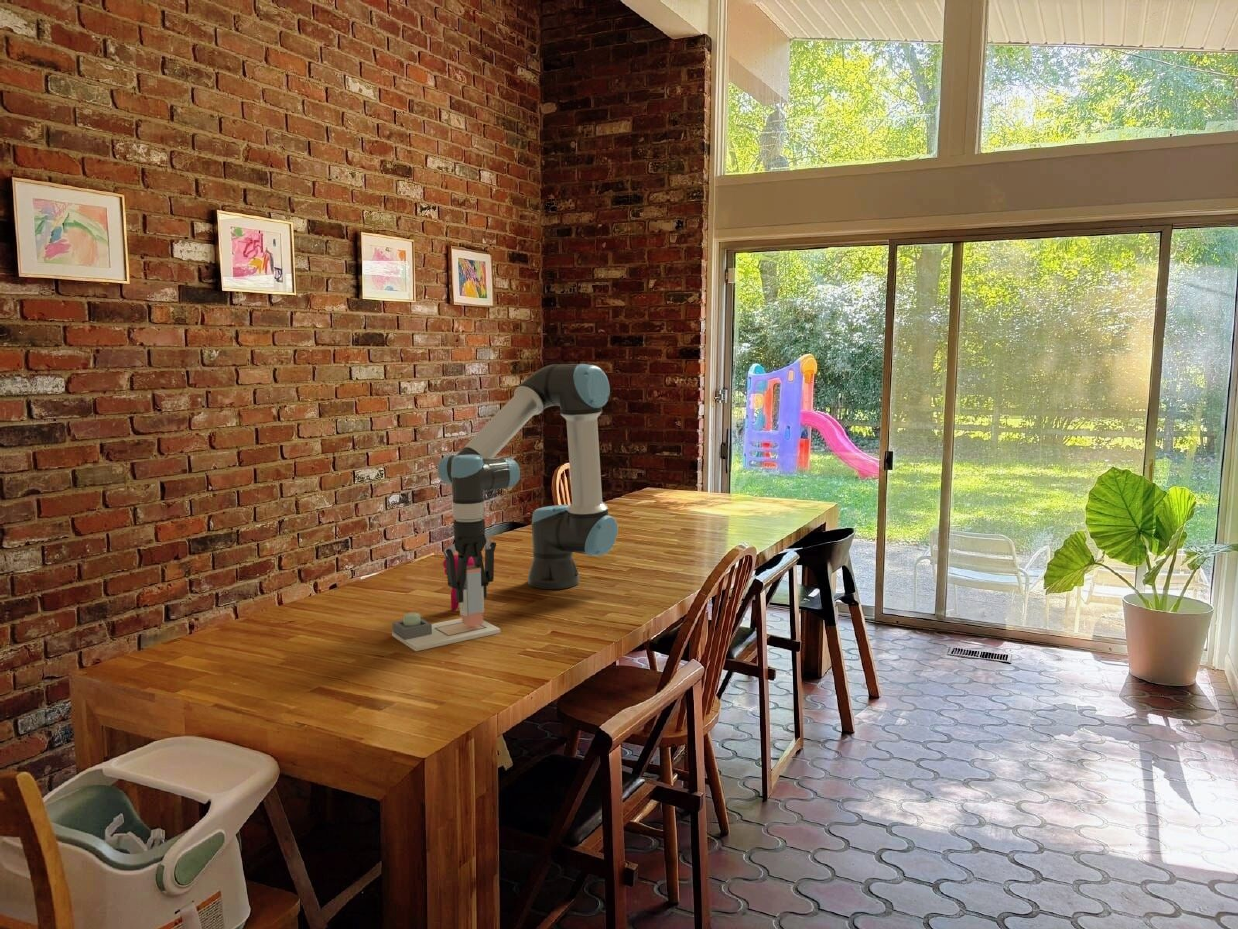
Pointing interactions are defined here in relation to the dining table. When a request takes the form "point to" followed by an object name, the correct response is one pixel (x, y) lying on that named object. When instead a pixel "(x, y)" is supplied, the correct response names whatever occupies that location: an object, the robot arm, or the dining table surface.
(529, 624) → the dining table surface
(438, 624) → the panel
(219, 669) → the dining table surface
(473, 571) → the grey and pink block
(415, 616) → the button
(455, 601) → the toy
